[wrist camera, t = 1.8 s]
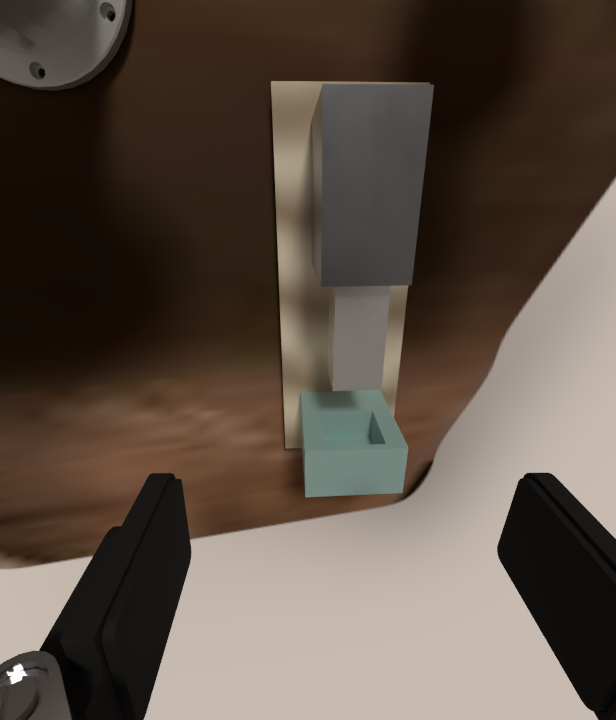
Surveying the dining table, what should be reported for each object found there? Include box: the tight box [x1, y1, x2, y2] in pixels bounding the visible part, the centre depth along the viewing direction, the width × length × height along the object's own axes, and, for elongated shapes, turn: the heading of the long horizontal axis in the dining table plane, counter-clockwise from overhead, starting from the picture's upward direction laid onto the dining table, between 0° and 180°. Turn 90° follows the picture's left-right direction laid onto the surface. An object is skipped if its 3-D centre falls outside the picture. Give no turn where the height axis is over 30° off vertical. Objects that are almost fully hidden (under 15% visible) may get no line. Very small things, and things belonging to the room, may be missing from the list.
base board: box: [271, 81, 430, 449], centre depth 29 cm, size 28×10×2 cm, turn 0°
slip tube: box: [328, 286, 391, 391], centre depth 22 cm, size 16×3×3 cm, turn 0°
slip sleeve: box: [312, 84, 434, 287], centre depth 21 cm, size 9×5×8 cm, turn 0°
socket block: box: [301, 390, 408, 497], centre depth 29 cm, size 4×7×8 cm, turn 90°
